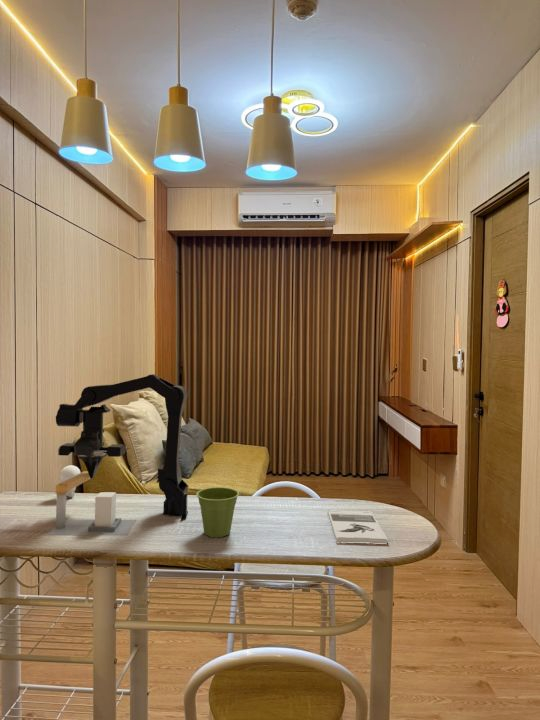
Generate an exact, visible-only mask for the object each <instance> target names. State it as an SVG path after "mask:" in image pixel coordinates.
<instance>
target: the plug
mask: <svg viewBox="0 0 540 720" xmlns="http://www.w3.org/2000/svg"><path fill="white" fill-rule="evenodd" d="M94 501H95V503H94V507H95V508H94V520H95V526H113V525H114V523H115V518H116V513H117V512H116V511H117V508H116V507H117V505H116V503H117V492H112V491H111V492H109V491H107V492H106V491H105V492H102V491H99V493H98V494H96V495H95V498H94Z"/></svg>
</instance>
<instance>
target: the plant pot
mask: <svg viewBox="0 0 540 720" xmlns="http://www.w3.org/2000/svg"><path fill="white" fill-rule="evenodd" d="M195 495H196V497H197V498H198V504H199V507H200V513H201V520H202V525H203V527H202V528H203V532H204V535H206V536H208V537H209V536H210V537H209V538H213V537H214V538H217V537H220V538H223V537H224V536H225V537H226V535H227V536H229V535H230V533H231V530H232V524H233V519H234V513H235V507H236V504H237V499H238V497H239V496H240V492H239V491H238V490H237V489H235V488H232V487H223V486H219V487H217V486H216V487H215V486H214V487H207V488H203V489H201V490H200V489H199V490H198V491H197V492H196V494H195Z"/></svg>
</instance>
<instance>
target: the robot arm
mask: <svg viewBox="0 0 540 720" xmlns="http://www.w3.org/2000/svg"><path fill="white" fill-rule="evenodd" d="M146 389H152V390H153V391H154V392H155V393H157V395H159V396H161V397H163V398H164V400H165V401H164V402H165V409H166V413H167V428H166V430H167V431H166V443H165V456H164V459H165V460H164V463H163V464H161V466H159V468H157V480H156V483H157V484H158V488H159V490H161V492H163V494H164V497H165V499H164V501H163V510H162V511H163V516H164V515H165V516H170V517H180V520H186V519H187V516H188V513H189V511H188V494H187V492H188V489H189V485H188V483H186V482H185V480H183V478H182V468H181V464H180V460H179V458H180V446H181V433H182V432H181V431H182V418H183V413H184V410H185V408H186V403H187V399H188V390H187V388H185V387H184V386H183V385H175V384H173V383H172V382H170V381H168V380H166V379H164V378H162V377H160V376H159V375H158V374H155V373H154V374H148V375H147V376H142V377H138V378H135V379H130V380H126V381H123V382H118V383H113V384H97V385H91V386H86V387H84V388H83V389H82V390H81V394H80V397H79V399H78V400H77V401H76V402H75V404H68V403H60V404H59V408H58V410H57V412H56V415H55V424H56V425H57V426H58V427H80V425H81V424H82V431H80V437H79V438H78V440H77V441H76V442H75V443H74V442H72V443H71V442H67V443H64V444H61V445H60V446H59V447H58V450H57V452H58V453H57V455H58V456H66V457H67V456H69V455H70V454H72V453H74V455H75V456H77V459H79V460H81V461H82V462H83V463H84V465H85V467H86V470H87V471H88V474H89V476H90V478H91V479H93V478H95V475H96V473H97V471H98V468H99V466H100V464H101V462H102V460H103V459H104V458H105V457H107V456H108V457H114V458H116V457H117V458H119V457H122V456H123V455H125V454H126V451H127V449H126V446H125V444H121V443H118V444H116V443H115V444H114V443H113V444H111V445H109V446H104V445H105V442H103V441H104V439H103V438H104V437H103V436H104V433H105V429H104V413H105V414H106V413H110V412H111V408H109V407H107V404H101V403H103V402H104V403H105V402H106V401H109V400H110V399H113V398H115V397H117V396H121V395H125V394H129V393H133V392H134V393H135V392H138V391H142V390H146ZM99 404H101V405H100V406H95V405H99ZM87 407H89V408H88V409H86V408H87ZM84 408H85V409H84Z"/></svg>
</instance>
